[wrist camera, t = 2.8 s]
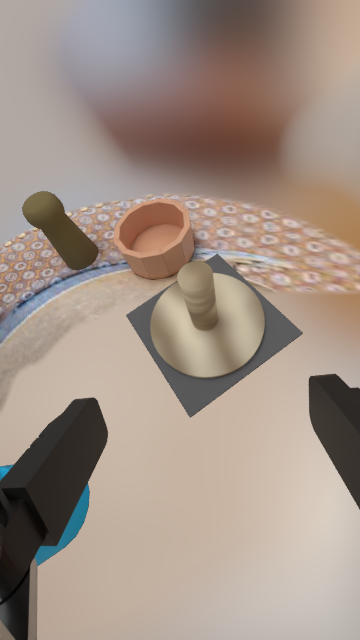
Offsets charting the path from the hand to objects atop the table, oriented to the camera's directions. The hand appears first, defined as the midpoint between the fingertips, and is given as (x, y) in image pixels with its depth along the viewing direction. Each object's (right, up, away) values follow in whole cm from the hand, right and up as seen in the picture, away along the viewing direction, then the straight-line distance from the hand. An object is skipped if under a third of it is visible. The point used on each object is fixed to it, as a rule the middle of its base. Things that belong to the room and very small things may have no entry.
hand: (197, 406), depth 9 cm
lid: (+3, +3, +21) cm, 21 cm away
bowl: (-4, +14, +28) cm, 32 cm away
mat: (+3, +3, +21) cm, 21 cm away
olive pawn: (-18, +14, +32) cm, 39 cm away
